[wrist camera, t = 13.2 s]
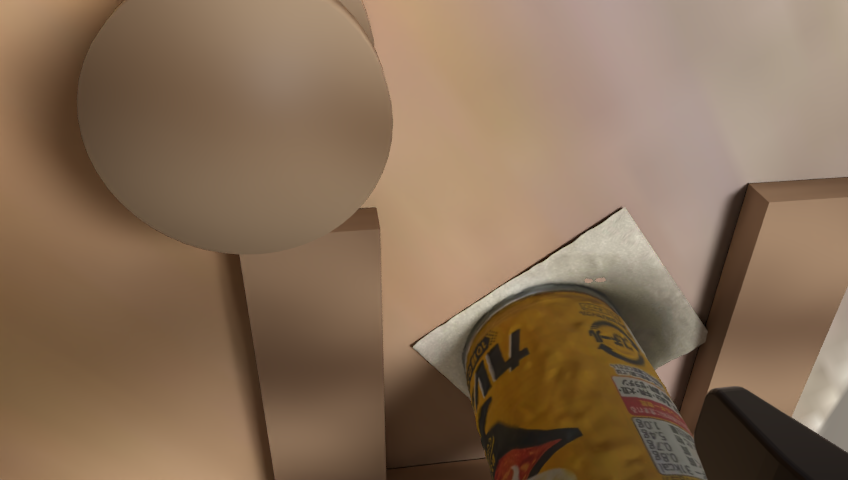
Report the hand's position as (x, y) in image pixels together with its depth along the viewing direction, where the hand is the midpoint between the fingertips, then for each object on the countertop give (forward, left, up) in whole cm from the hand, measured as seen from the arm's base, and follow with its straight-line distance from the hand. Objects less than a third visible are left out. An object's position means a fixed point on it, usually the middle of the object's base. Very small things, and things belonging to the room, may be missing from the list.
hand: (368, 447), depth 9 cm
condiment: (-10, -8, -13) cm, 18 cm away
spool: (+1, +2, -12) cm, 12 cm away
